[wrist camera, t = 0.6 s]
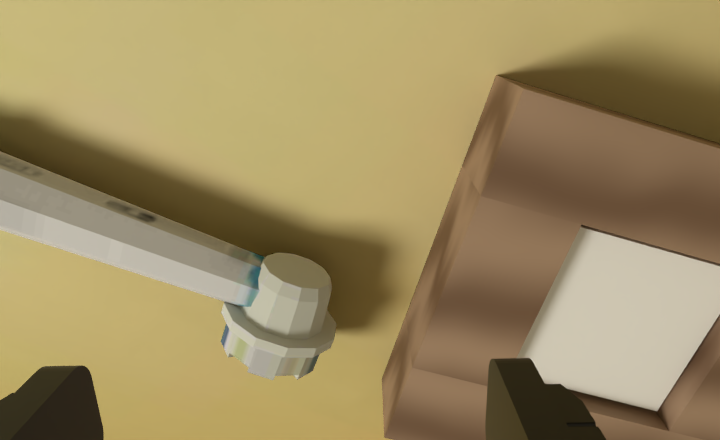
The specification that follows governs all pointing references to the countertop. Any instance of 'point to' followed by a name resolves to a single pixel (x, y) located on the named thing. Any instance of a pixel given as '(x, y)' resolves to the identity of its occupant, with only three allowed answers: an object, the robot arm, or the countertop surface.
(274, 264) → the white flashlight
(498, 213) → the holder block
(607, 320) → the pad
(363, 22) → the countertop surface
